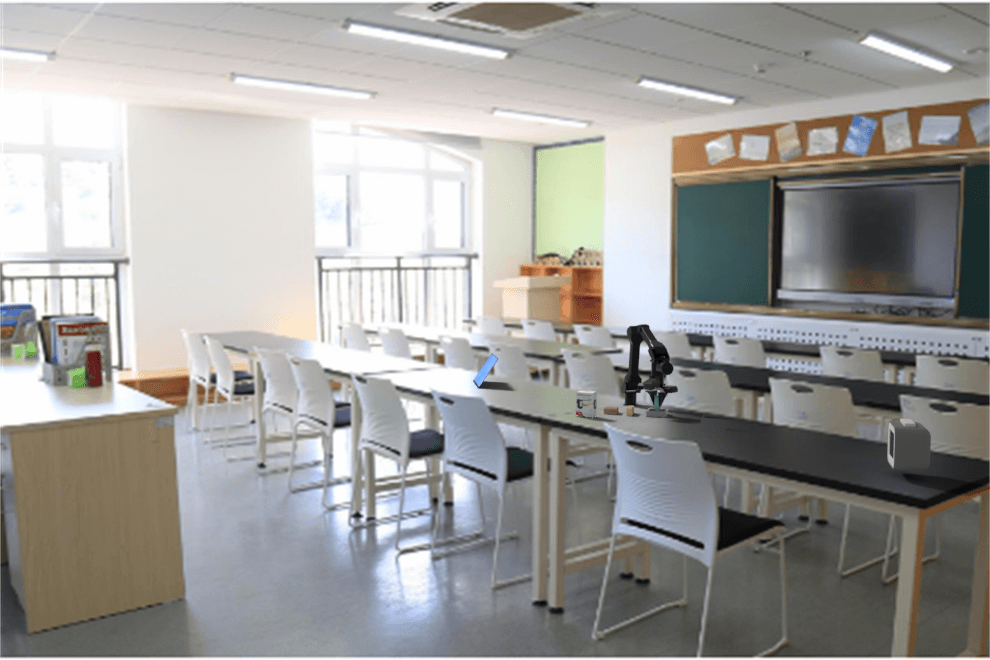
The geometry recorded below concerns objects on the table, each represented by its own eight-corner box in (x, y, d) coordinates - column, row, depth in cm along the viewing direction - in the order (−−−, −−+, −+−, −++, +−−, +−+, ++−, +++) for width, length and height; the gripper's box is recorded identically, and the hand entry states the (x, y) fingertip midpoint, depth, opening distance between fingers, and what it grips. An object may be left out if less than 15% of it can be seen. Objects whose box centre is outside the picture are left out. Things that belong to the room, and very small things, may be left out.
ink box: (575, 417, 394) (575, 391, 393) (579, 415, 399) (579, 390, 398) (592, 419, 390) (593, 392, 389) (596, 417, 395) (597, 391, 394)
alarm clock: (886, 460, 304) (888, 416, 303) (922, 462, 301) (923, 417, 300) (893, 470, 289) (895, 424, 288) (931, 473, 285) (932, 426, 284)
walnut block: (605, 412, 408) (605, 406, 408) (618, 413, 407) (618, 407, 406) (603, 414, 403) (603, 408, 402) (616, 415, 401) (616, 409, 401)
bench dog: (628, 413, 406) (628, 405, 406) (634, 413, 405) (634, 405, 405) (626, 415, 398) (626, 408, 398) (631, 416, 398) (631, 408, 397)
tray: (648, 413, 404) (648, 408, 404) (668, 414, 402) (668, 408, 402) (646, 416, 396) (646, 411, 396) (666, 417, 393) (666, 412, 393)
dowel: (652, 412, 399) (653, 395, 398) (656, 412, 401) (656, 394, 400) (657, 413, 397) (658, 396, 396) (661, 412, 399) (661, 395, 398)
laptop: (437, 385, 507) (437, 353, 505) (492, 384, 511) (492, 353, 509) (440, 392, 477) (440, 359, 476) (498, 391, 481) (498, 358, 480)
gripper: (630, 372, 399) (630, 406, 400) (664, 375, 385) (663, 410, 386) (645, 370, 406) (644, 403, 407) (678, 373, 393) (678, 408, 394)
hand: (657, 406), depth 399 cm, fingers closed on dowel, 3 cm apart
